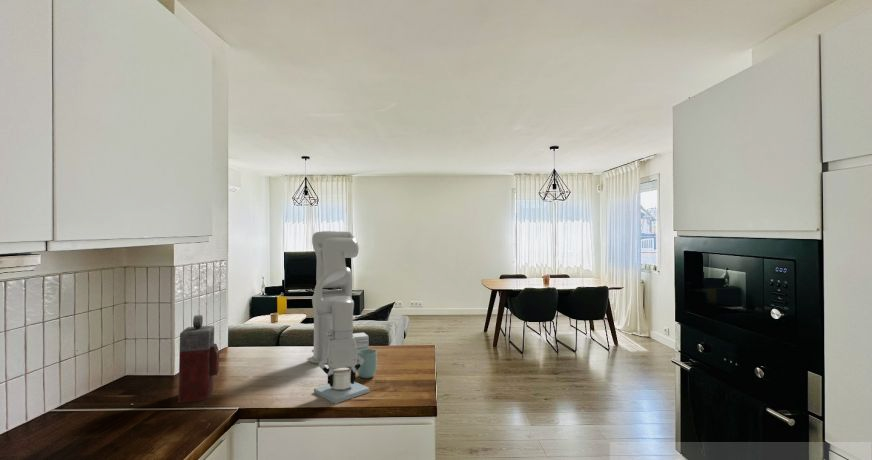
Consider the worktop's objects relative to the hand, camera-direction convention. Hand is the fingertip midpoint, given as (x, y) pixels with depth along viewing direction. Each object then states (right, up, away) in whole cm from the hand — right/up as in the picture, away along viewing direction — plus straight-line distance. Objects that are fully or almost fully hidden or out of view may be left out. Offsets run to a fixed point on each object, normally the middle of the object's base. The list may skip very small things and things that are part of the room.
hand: (341, 383), depth 141 cm
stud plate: (0, -3, 0) cm, 3 cm away
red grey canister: (-49, -3, -3) cm, 49 cm away
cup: (+6, -4, +16) cm, 18 cm away
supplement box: (-1, -4, +34) cm, 34 cm away
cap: (0, -1, 0) cm, 1 cm away
